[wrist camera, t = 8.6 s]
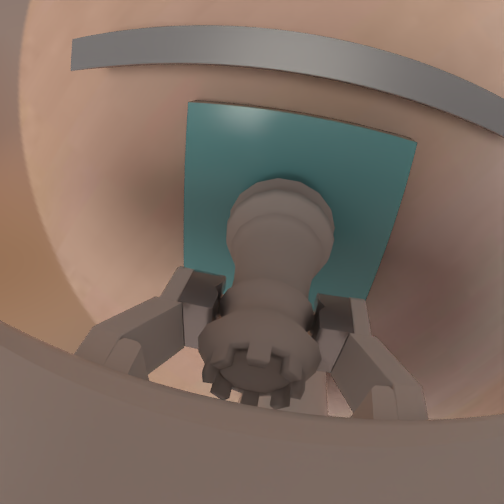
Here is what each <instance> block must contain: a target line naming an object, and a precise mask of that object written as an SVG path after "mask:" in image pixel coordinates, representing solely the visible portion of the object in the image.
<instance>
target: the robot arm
mask: <svg viewBox="0 0 504 504" xmlns="http://www.w3.org/2000/svg"><path fill="white" fill-rule="evenodd" d="M225 288H226V276H224V275H219V274H215V273H210V272H205V271H201V270H196V269H195V270H194V269H191V268H186V267H181V266H180V267H178V268H177V269H176V271H175V272H174V274H173V276H172V277H171V279H170V281H169V282H168V284H167V286H166V287H165V289H164V291H163V293H162V294H161V296H160V298H159V297H153V298H151V299H149V300H147V301H145V302H143V303H141V304H139V305H137V306H135V307H133V308H130V309H128V310H126V311H124V312H122V313H120V314H118V315H116V316H114V317H112V318H110V319H107V320H105V321H103V322H101V323H99V324H97V325H95V326H94V327H92V329H91V330H90V332H89V333H88V335H87V336H86V338H85V339H84V341H83V342H82V343H81V345H80V346H79V348H78V349H77V351H76V352H75V354H72V353H69V352H67V351H64V350H62V349H60V348H57V347H55V346H53V345H50V344H48V343H46V342H44V341H41V340H39V339H37V338H35V337H32V336H30V335H28V334H26V333H24V332H22V331H20V330H18V329H16V328H14V327H12V326H10V325H8V324H6V323H4V322H2V321H0V504H504V414H499V415H490V416H481V417H470V418H456V419H437V420H428V414H427V409H426V403H425V398H424V393H423V389H422V386H421V385H420V384H419V383H418V382H417V381H416V380H415V378H414V377H413V376H412V375H411V374H410V373H409V372H408V371H407V370H406V368H405V367H404V366H403V365H402V364H401V363H400V362H399V361H398V360H397V359H396V358H395V356H394V355H393V354H392V353H391V352H390V351H389V350H388V349H387V348H386V347H385V346H384V344H383V343H382V342H381V341H380V340H379V339H378V338H377V337H375V336H372V333H371V328H370V322H369V317H368V311H367V306H366V301H365V300H364V299H359V298H351V297H349V298H348V297H341V296H335V295H329V294H323V293H317V295H316V298H315V301H314V311H313V313H314V317H315V318H314V321H313V323H312V326H311V329H310V330H309V331H308V332H307V333H308V334H309V335H310V336H311V337H312V338H313V339H314V340H315V341H316V342H317V343H318V345H319V349H320V354H321V358H322V360H321V362H320V364H319V366H318V369H317V371H322V372H328V373H331V376H332V377H333V379H334V381H335V383H336V384H337V386H338V388H339V389H340V391H341V393H342V394H343V396H344V398H345V399H346V401H347V403H348V404H349V406H350V408H351V410H352V411H353V415H352V416H351V417H350V418H344V417H332V416H322V415H313V414H304V413H296V412H289V411H282V410H275V409H269V408H263V407H257V406H251V405H246V404H241V403H236V402H231V401H226V400H221V399H217V398H212V397H208V396H203V395H199V394H195V393H191V392H187V391H183V390H180V389H176V388H172V387H169V386H165V385H162V384H158V383H155V382H151V381H149V378H148V374H149V373H151V372H152V371H153V370H155V369H156V368H157V367H159V366H160V365H161V364H163V363H164V362H165V361H167V360H168V359H169V358H171V357H172V356H173V355H175V354H176V353H177V352H179V351H180V350H181V349H183V348H184V346H187V347H191V348H196V349H199V348H198V336H199V335H200V333H201V332H202V331H203V329H204V328H205V326H206V325H207V324H208V323H211V322H213V321H215V320H217V319H219V318H221V316H220V314H219V308H220V299H221V298H222V297H223V293H224V291H225Z"/></svg>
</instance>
